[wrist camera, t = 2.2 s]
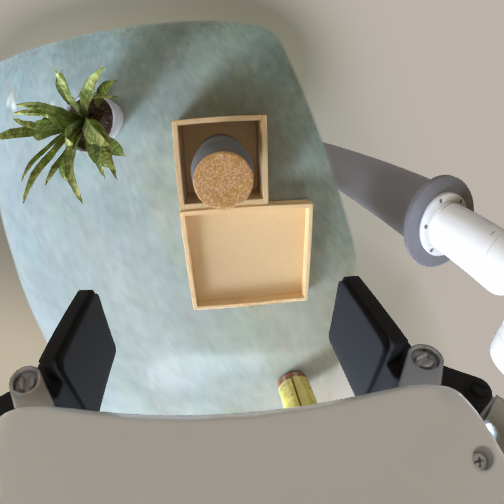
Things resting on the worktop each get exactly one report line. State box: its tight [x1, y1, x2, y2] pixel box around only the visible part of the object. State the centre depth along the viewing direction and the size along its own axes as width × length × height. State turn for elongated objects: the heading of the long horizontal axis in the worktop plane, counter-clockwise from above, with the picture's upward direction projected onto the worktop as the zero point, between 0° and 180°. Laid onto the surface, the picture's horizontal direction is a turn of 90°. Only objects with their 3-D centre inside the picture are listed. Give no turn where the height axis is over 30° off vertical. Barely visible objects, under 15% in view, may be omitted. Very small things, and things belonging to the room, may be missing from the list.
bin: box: [172, 115, 268, 210], centre depth 34 cm, size 10×10×5 cm
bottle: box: [191, 134, 254, 210], centre depth 29 cm, size 6×6×15 cm
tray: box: [180, 199, 313, 310], centre depth 42 cm, size 17×15×2 cm
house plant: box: [0, 66, 125, 204], centre depth 25 cm, size 14×14×16 cm
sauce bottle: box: [278, 372, 317, 409], centre depth 47 cm, size 6×6×20 cm
